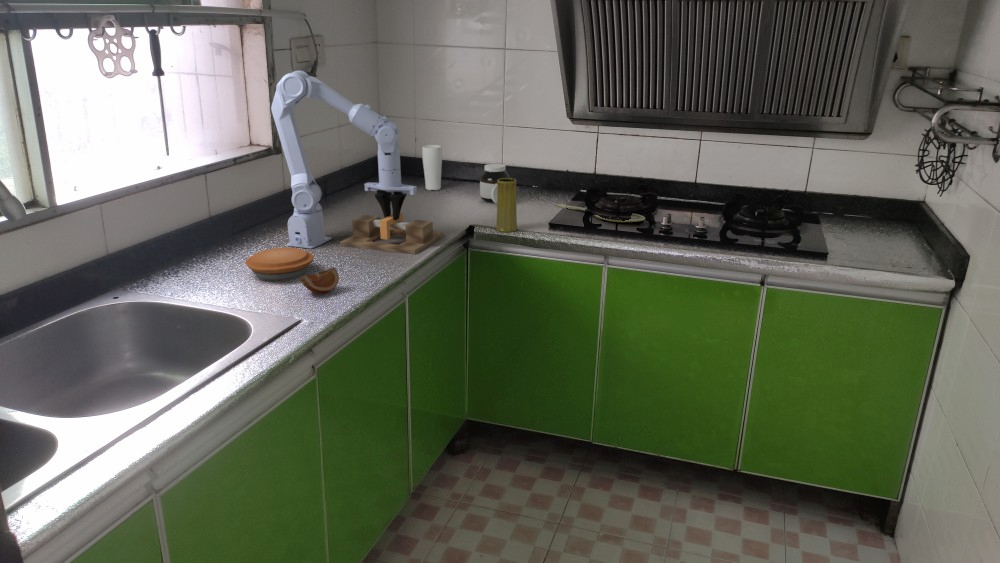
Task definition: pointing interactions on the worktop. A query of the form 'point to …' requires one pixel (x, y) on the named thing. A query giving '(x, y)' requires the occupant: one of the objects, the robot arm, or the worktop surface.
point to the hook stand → (369, 230)
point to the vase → (506, 205)
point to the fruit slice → (321, 281)
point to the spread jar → (491, 181)
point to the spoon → (633, 218)
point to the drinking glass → (432, 166)
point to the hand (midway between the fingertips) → (392, 218)
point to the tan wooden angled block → (386, 224)
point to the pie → (280, 263)
